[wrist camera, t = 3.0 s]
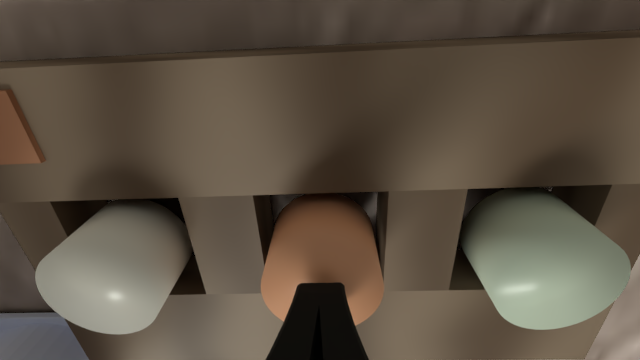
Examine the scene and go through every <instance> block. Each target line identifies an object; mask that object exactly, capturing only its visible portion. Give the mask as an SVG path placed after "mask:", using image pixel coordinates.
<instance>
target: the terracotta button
mask: <svg viewBox="0 0 640 360" xmlns="http://www.w3.org/2000/svg"><path fill="white" fill-rule="evenodd" d="M336 282H341V283H342V284H343V285H344V286H345V293H346V297H347V301H348V305H349V308H350V312H351V315H352V318H353V321H354V324H355V326H356V325H358V324H360V323H362V322H363V321H365V320H366V319H367V318H369V317H370V316H371V315H372V314H373V313H374V312H375V311H376V309H377V308H378V307H379V305H380V303H381V301H382V298H383V294H384V282H383V277H382V272H381V268H380V263H379V258H378V253H377V248H376V243H375V238H374V234H373V229H372V224H371V221H370V218H369V216H368V215H367V213H366V212H365V210H364V209H363V208H362V207H361V206H360V205H359V204H358V203H356V202H355V201H353V200H352V199H350V198H348V197H346V196H343V195H340V194H336V193H314V194H306V195H303V196H300V197H298V198H296V199H294V200H293V201H291V202H290V203H289V204H288V205H286V206H285V207H284V209H283V210H282V211H281V212H280V214H279V216H278V218H277V220H276V224H275V228H274V232H273V235H272V239H271V243H270V247H269V251H268V255H267V259H266V263H265V267H264V271H263V275H262V279H261V293H262V297H263V300H264V302H265V304H266V305H267V307H268V308H269V309H270V311H271V312H272V313H273V314H274V315H275V316H277V317H278V318H279V319H281V320H282V321H283V322H284V320H285V318H286V315H287V313H288V311H289V308H290V306H291V303H292V300H293V297H294V294H295V291H296V288H297V286H298V285H299V284H300V283H336Z"/></svg>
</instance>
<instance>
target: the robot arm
mask: <svg viewBox="0 0 640 360" xmlns="http://www.w3.org/2000/svg"><path fill="white" fill-rule="evenodd" d="M0 360H89V359H88V357H87V355H86V354H85V352H84V350H83V349H82V347H81V345H80V344H79V342H78V340H77V339H76V337H75V335H74V334H73V332H72V330H71V329H70V327H69V325H68V324H67V322H66V321H65V319H64V318H63V317H62V316H61V315H59V314H58V313H0ZM265 360H369V359H368V356H367V354H366V352H365V349H364V347H363V344H362V342H361V339H360V337H359V334H358V332H357V329H356V327H355V324H354V321H353V318H352V315H351V312H350V308H349V305H348V301H347V297H346V293H345V286H344V285H343V284H342V283H341V282H336V283H300V284H299V285H298V286H297V288H296V291H295V294H294V297H293V300H292V303H291V306H290V308H289V311H288V313H287V315H286V318H285V320H284V322H283V325H282V327H281V329H280V331H279V333H278V335H277V337H276V340H275V342H274V344H273V346H272V348H271V350H270V352H269V354H268V356H267V358H266V359H265Z"/></svg>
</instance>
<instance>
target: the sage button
mask: <svg viewBox="0 0 640 360" xmlns="http://www.w3.org/2000/svg"><path fill="white" fill-rule="evenodd" d="M460 243H461V247H462V249H463V251H464V253H465V255H466V256H467V258H468V260H469V262H470V263H471V265H472V267H473V269H474V270H475V272H476V274H477V276H478V277H479V279H480V281H481V283H482V284H483V286H484V288H485V290H486V291H487V293H488V295H489V297H490V298H491V300H492V302H493V304H494V305H495V307H496V309H497V311H498V312H499V313H500V315H501V316H502V317H503V318H504V319H506V320H507V321H508V322H510V323H512V324H514V325H517V326H519V327H523V328H527V329H535V330H548V329H557V328H563V327H567V326H571V325H574V324H577V323H580V322H582V321H585V320H587V319H589V318H591V317H593V316H595V315H597V314H598V313H600V312H601V311H603V310H604V309H606V308H607V307H608V306H609V305H611V304H612V303H613V302H614V301H615V300H616V299H617V298H618V297H619V296H620V294H621V293H622V292H623V290H624V289H625V287H626V285H627V283H628V281H629V277H630V272H631V265H630V260H629V258H628V256H627V254H626V253H625V251H624V250H623V249H622V248H621V247H620V246H618V245H617V244H616V243H615V242H613V241H612V240H611V239H610V238H608V237H607V236H606V235H605V234H603V233H602V232H601V231H600V230H598V229H597V228H596V227H595V226H593V225H592V224H591V223H590V222H588V221H587V220H586V219H585V218H583V217H582V216H581V215H579V214H578V213H577V212H576V211H574V210H573V209H572V208H571V207H569V206H568V205H567V204H566V203H564V202H563V201H562V200H561V199H559V198H558V197H557V196H556V195H554V194H553V193H551V192H550V191H548V190H545V189H543V188H539V187H514V188H507V189H504V190H501V191H498V192H496V193H494V194H492V195H490V196H488V197H486V198H485V199H483V200H482V201H481V202H479V203H478V204H477V205H476V206H475V207H474V208H473V209H472V210H471V211H470V212H469V214H468V215H467V217H466V218H465V220H464V222H463V224H462V227H461V231H460Z"/></svg>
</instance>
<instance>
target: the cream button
mask: <svg viewBox="0 0 640 360" xmlns="http://www.w3.org/2000/svg"><path fill="white" fill-rule="evenodd" d="M192 249H193V247H192V243H191V240H190V236H189V233H188V230H187V227H186V226H185V224H184V223H183V222H182V221H181V220H180V219H179V218H178V217H177V216H176V215H175V214H174V213H173V212H171V211H170V210H169V209H167V208H165V207H163V206H162V205H159V204H157V203H155V202H152V201H149V200H145V199H118V200H115V201H112V202H110V203H108V204H107V205H105V206H104V207H103V208H102V209H100V210H99V211H98V212H97V213H96V214H95V215H93V216H92V217H91V218H90V219H89V220H88V221H86V222H85V223H84V224H83V225H82V226H81V227H79V228H78V229H77V230H76V231H75V232H74V233H72V234H71V235H70V236H69V237H68V238H66V239H65V240H64V241H63V242H62V243H61V244H59V245H58V246H57V247H56V248H55V249H54V250H52V251H51V252H50V253H49V254H48V255H47V256H45V257H44V258H43V259H42V260H41V261H40V263H39V264H38V266H37V269H36V273H35V280H36V285H37V288H38V291H39V292H40V294H41V296H42V297H43V299H44V300H45V302H46V303H47V304H48V305H49V306H50V307H51V308H52V309H53V310H54V311H55V312H57V313H58V314H59V315H61V316H62V317H63V318H65V319H67V320H68V321H70V322H72V323H74V324H76V325H78V326H80V327H83V328H86V329H88V330H92V331H95V332H100V333H105V334H129V333H134V332H138V331H140V330H143V329H144V328H146V327H148V326H149V325H150V324H151V323H152V322H153V321H154V320H155V319H156V317H157V315H158V313H159V312H160V310H161V308H162V306H163V305H164V303H165V301H166V299H167V298H168V296H169V294H170V292H171V290H172V289H173V287H174V285H175V283H176V282H177V280H178V278H179V276H180V275H181V273H182V271H183V269H184V268H185V266H186V264H187V262H188V261H189V259H190V257H191V254H192Z"/></svg>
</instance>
